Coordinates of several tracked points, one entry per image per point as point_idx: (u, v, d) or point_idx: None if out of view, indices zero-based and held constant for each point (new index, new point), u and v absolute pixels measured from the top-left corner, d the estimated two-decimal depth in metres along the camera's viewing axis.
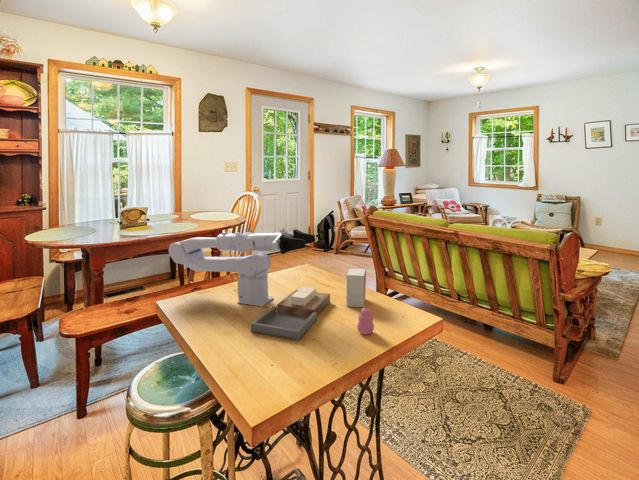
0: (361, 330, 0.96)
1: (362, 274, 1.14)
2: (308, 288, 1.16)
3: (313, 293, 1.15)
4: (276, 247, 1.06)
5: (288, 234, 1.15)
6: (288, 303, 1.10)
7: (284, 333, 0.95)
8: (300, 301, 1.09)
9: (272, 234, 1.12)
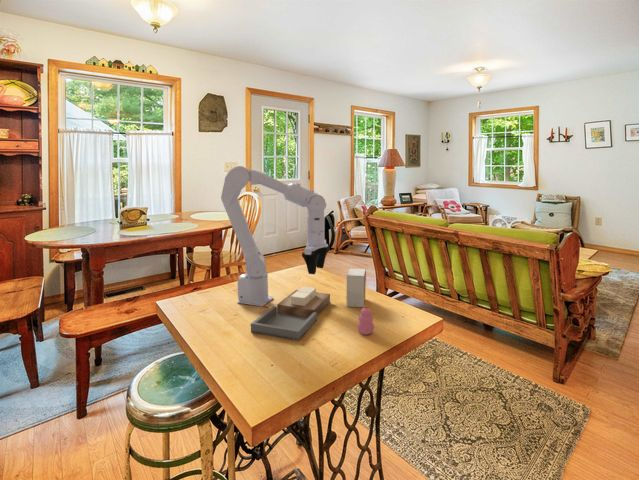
0: (361, 330, 0.96)
1: (362, 274, 1.14)
2: (308, 288, 1.16)
3: (313, 293, 1.15)
4: (306, 253, 1.14)
5: None
6: (288, 303, 1.10)
7: (284, 333, 0.95)
8: (300, 301, 1.09)
9: (321, 237, 1.17)
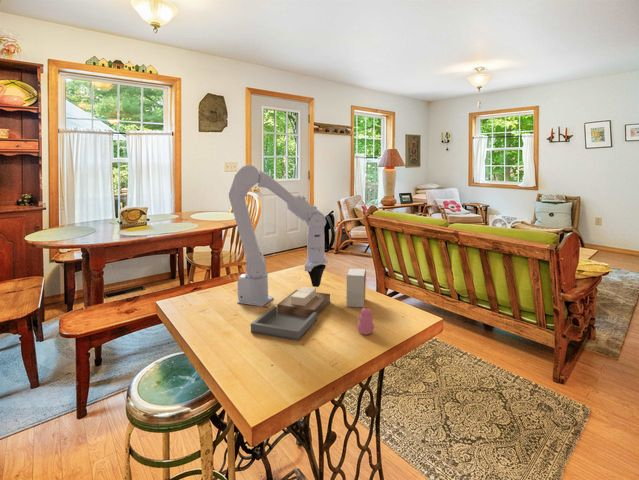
0: (361, 330, 0.96)
1: (362, 274, 1.14)
2: (308, 288, 1.16)
3: (313, 293, 1.15)
4: (306, 270, 1.15)
5: None
6: (288, 303, 1.10)
7: (284, 333, 0.95)
8: (300, 301, 1.09)
9: (321, 253, 1.19)
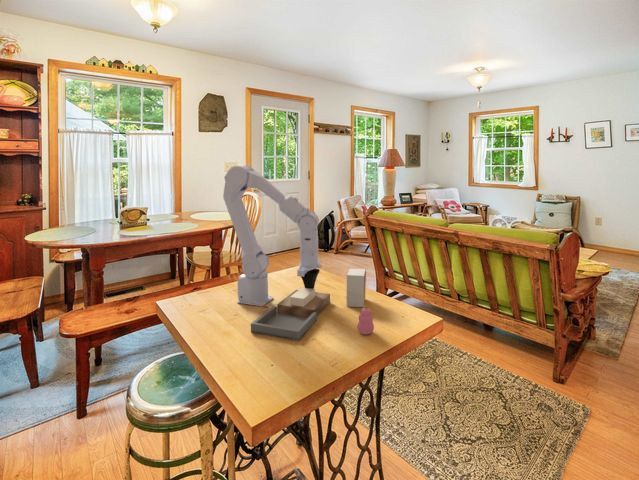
0: (361, 330, 0.96)
1: (362, 274, 1.14)
2: (307, 289, 1.15)
3: (312, 293, 1.14)
4: (299, 275, 1.10)
5: None
6: (288, 303, 1.10)
7: (284, 333, 0.95)
8: (299, 301, 1.08)
9: (315, 257, 1.13)
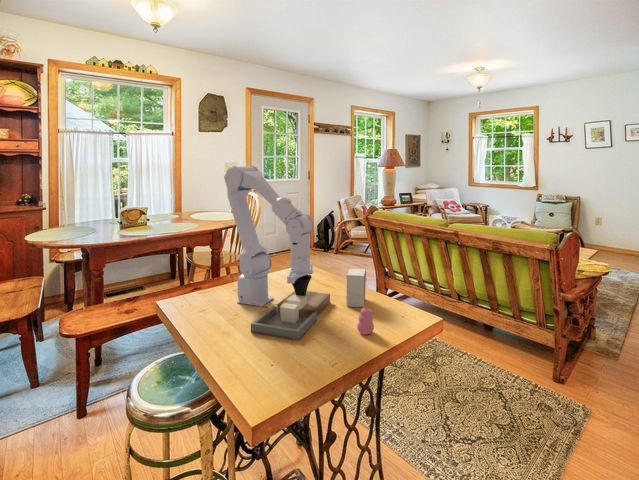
0: (361, 330, 0.96)
1: (362, 274, 1.14)
2: (299, 297, 1.09)
3: (303, 301, 1.07)
4: (289, 282, 1.03)
5: None
6: None
7: (284, 333, 0.95)
8: None
9: (306, 263, 1.07)
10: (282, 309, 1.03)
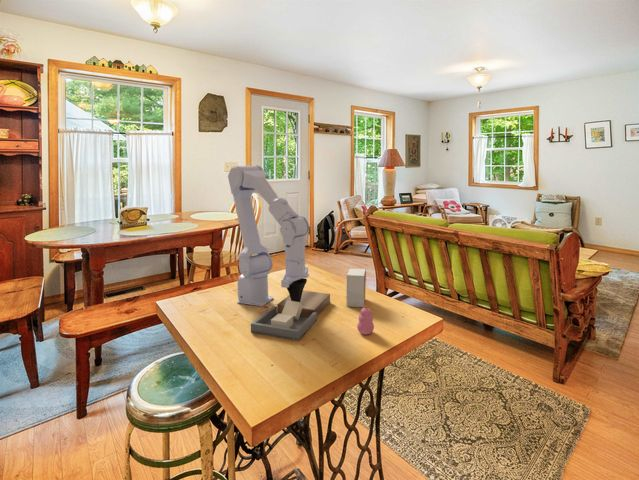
0: (361, 330, 0.96)
1: (362, 274, 1.14)
2: (293, 305, 1.05)
3: (298, 310, 1.05)
4: (283, 286, 1.00)
5: None
6: None
7: (284, 333, 0.95)
8: None
9: (301, 266, 1.04)
10: None
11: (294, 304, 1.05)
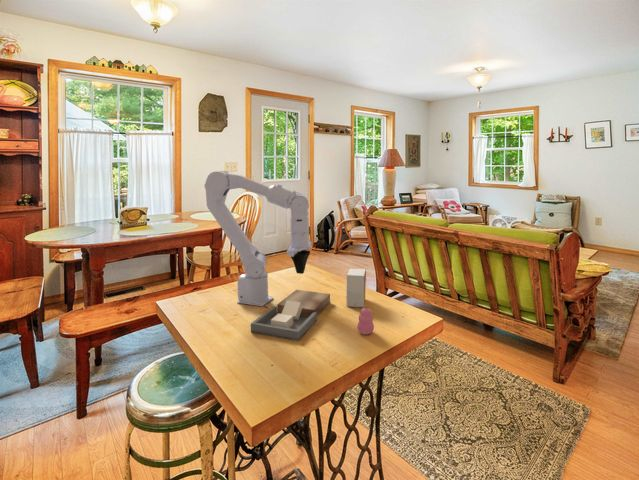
0: (361, 330, 0.96)
1: (362, 274, 1.14)
2: (293, 305, 1.05)
3: (298, 310, 1.05)
4: (288, 255, 1.11)
5: None
6: None
7: (284, 333, 0.95)
8: None
9: (305, 239, 1.15)
10: None
11: (294, 304, 1.05)
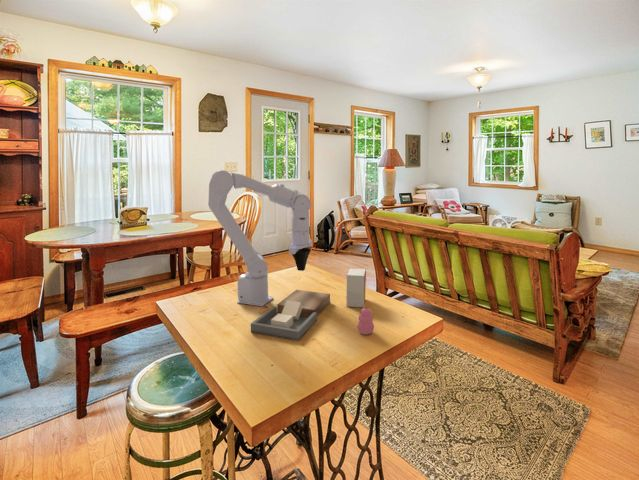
0: (361, 330, 0.96)
1: (362, 274, 1.14)
2: (293, 305, 1.05)
3: (298, 310, 1.05)
4: (290, 252, 1.15)
5: None
6: None
7: (284, 333, 0.95)
8: None
9: (306, 236, 1.18)
10: None
11: (294, 304, 1.05)
